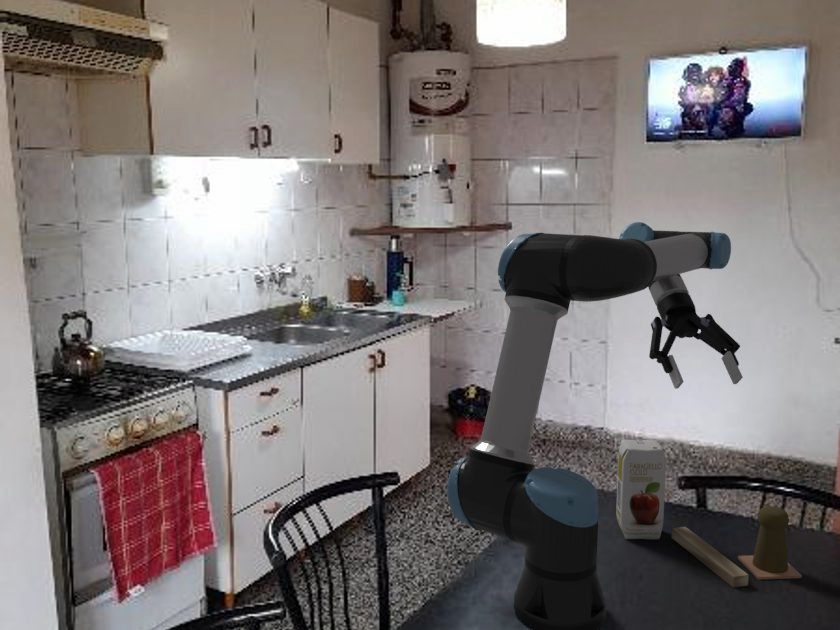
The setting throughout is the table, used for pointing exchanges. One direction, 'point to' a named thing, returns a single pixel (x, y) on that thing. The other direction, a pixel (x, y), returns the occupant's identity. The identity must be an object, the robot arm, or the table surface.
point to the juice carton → (641, 489)
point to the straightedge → (710, 557)
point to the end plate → (767, 575)
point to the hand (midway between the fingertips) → (709, 383)
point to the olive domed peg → (771, 540)
